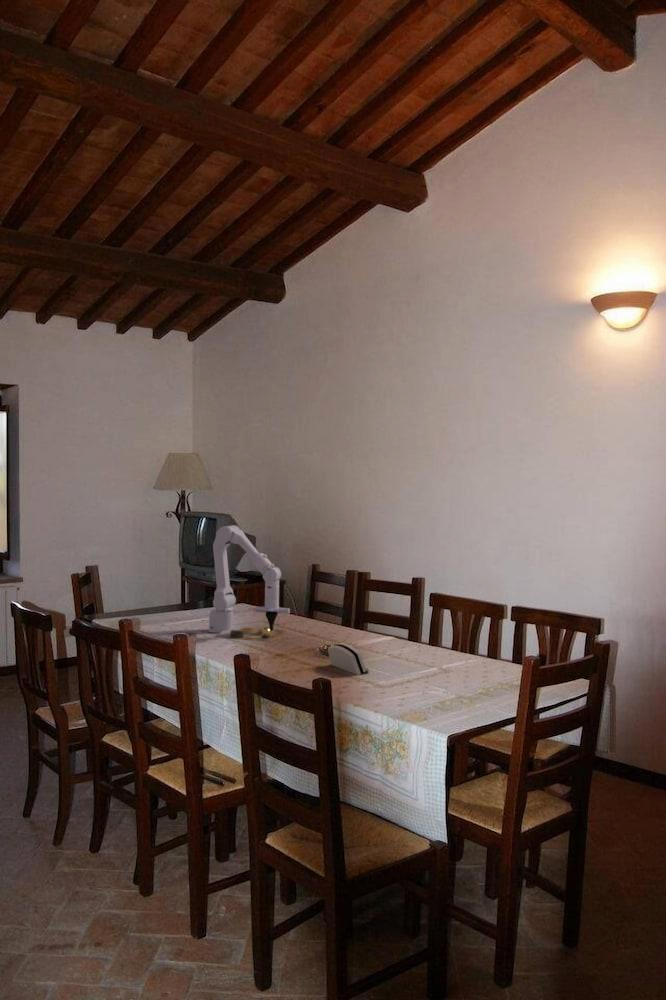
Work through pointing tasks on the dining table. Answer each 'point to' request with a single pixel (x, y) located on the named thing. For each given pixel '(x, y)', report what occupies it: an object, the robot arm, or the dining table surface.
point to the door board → (254, 634)
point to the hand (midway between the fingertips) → (271, 630)
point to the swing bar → (266, 630)
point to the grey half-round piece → (346, 658)
